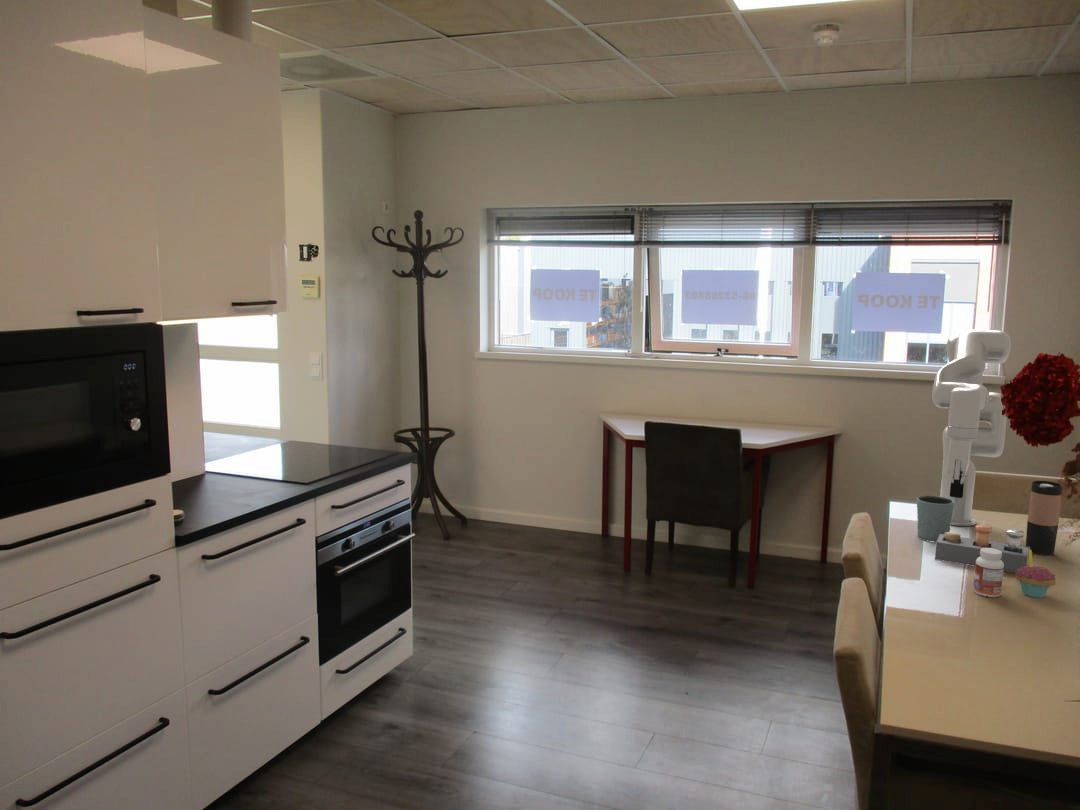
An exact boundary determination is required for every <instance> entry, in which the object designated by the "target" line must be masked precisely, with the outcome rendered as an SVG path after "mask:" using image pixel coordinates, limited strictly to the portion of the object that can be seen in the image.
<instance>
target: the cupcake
mask: <svg viewBox="0 0 1080 810" xmlns="http://www.w3.org/2000/svg"><path fill="white" fill-rule="evenodd" d="M1028 562H1029V565H1027V566H1023V567H1021V568H1019V569H1018V570H1017V571H1016V573H1015V577H1016V579H1017V580H1018V581H1019V584H1020V588H1021V592H1022V594H1024V595H1025V596H1027V597H1031V598H1044V597H1045V595H1046V593H1047V591H1048V590H1049V588H1050V587H1053V586H1055V585H1056V583H1057V581H1056V578H1055V576H1056V575H1055V574H1054V573H1052V571H1050V570H1049V569H1048V568H1047V567H1046V568H1045V567H1043V566H1038V565H1033V553H1032V551H1031V549H1030V547H1029V550H1028Z"/></svg>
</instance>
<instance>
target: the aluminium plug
mask: <svg viewBox="0 0 1080 810" xmlns="http://www.w3.org/2000/svg"><path fill="white" fill-rule="evenodd" d="M1005 533H1006V536H1007V537H1006V538H1007V540H1006V544H1007V548H1006V551H1011V552H1017V553H1020V546H1022V544H1021V542H1022V538H1024V530H1021V529H1015V528H1007V529H1006V532H1005Z"/></svg>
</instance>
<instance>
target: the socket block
mask: <svg viewBox="0 0 1080 810" xmlns="http://www.w3.org/2000/svg"><path fill="white" fill-rule="evenodd" d="M935 543H936V544H935V553H934V560H937V559H938V560H939V561H943V560H944V561H943V562H949V561H950V563H955V564H956V563H957V564H960V563H961V564H962V565H966V564H969V565H968V566H972V565H974V566H973V567H975V565H976V560H977V558H978V557H981V555H980V550H981V548H986V547H980V546H975V544H976V538H969V537H965V536H964V537H963V536H960V540H958V543H955V542H949V541H946V539H945V538H944V534H940V535H939V537H938V539H937V542H935ZM988 548H993V549H997V550H1000V551H1001V552H1002V557H1001V559H1000V560H1001V561H1002V562H1003V563H1004V570H1003V572H1007V571H1008V572H1009V573H1013V572H1014V573H1015V574H1016V571H1017V570H1018V569H1019V568H1021V567H1023V566H1028V559H1029V552H1028V547H1026V546H1022V545H1020V553H1017V552H1011V551H1006V548H1007V543H1003V542H996V541H990V540H989V546H988ZM1008 572H1007V573H1008Z"/></svg>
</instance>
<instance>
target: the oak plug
mask: <svg viewBox="0 0 1080 810" xmlns="http://www.w3.org/2000/svg"><path fill="white" fill-rule="evenodd" d="M960 537H961V534H960V533H958V532H953V531H950V532H945V534H944V538H945V539H946V541H949V542H955V543H958V540H960Z"/></svg>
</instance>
